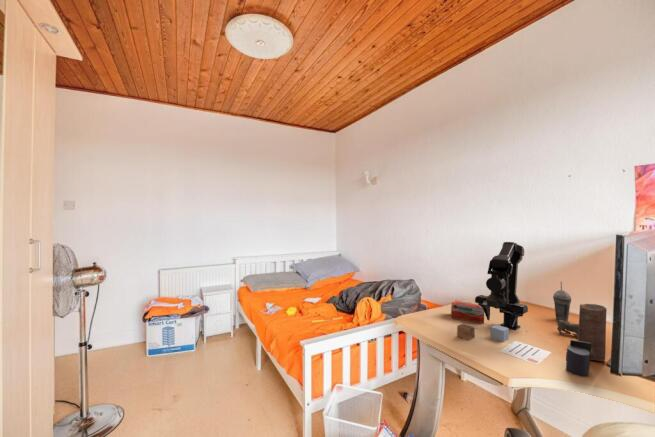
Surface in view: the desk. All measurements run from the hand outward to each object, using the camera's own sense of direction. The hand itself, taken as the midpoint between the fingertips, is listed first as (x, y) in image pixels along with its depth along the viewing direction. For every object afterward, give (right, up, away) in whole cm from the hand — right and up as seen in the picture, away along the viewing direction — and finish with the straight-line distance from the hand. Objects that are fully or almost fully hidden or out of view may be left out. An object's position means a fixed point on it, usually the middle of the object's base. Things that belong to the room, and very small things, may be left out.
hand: (499, 323), depth 116 cm
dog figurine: (+36, -8, +4) cm, 37 cm away
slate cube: (0, -7, 0) cm, 7 cm away
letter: (+2, -7, -12) cm, 14 cm away
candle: (+24, -7, -16) cm, 30 cm away
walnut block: (-14, -7, +1) cm, 16 cm away
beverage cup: (+47, -8, +23) cm, 53 cm away
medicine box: (-1, -7, +24) cm, 25 cm away
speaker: (+10, -7, -26) cm, 29 cm away
